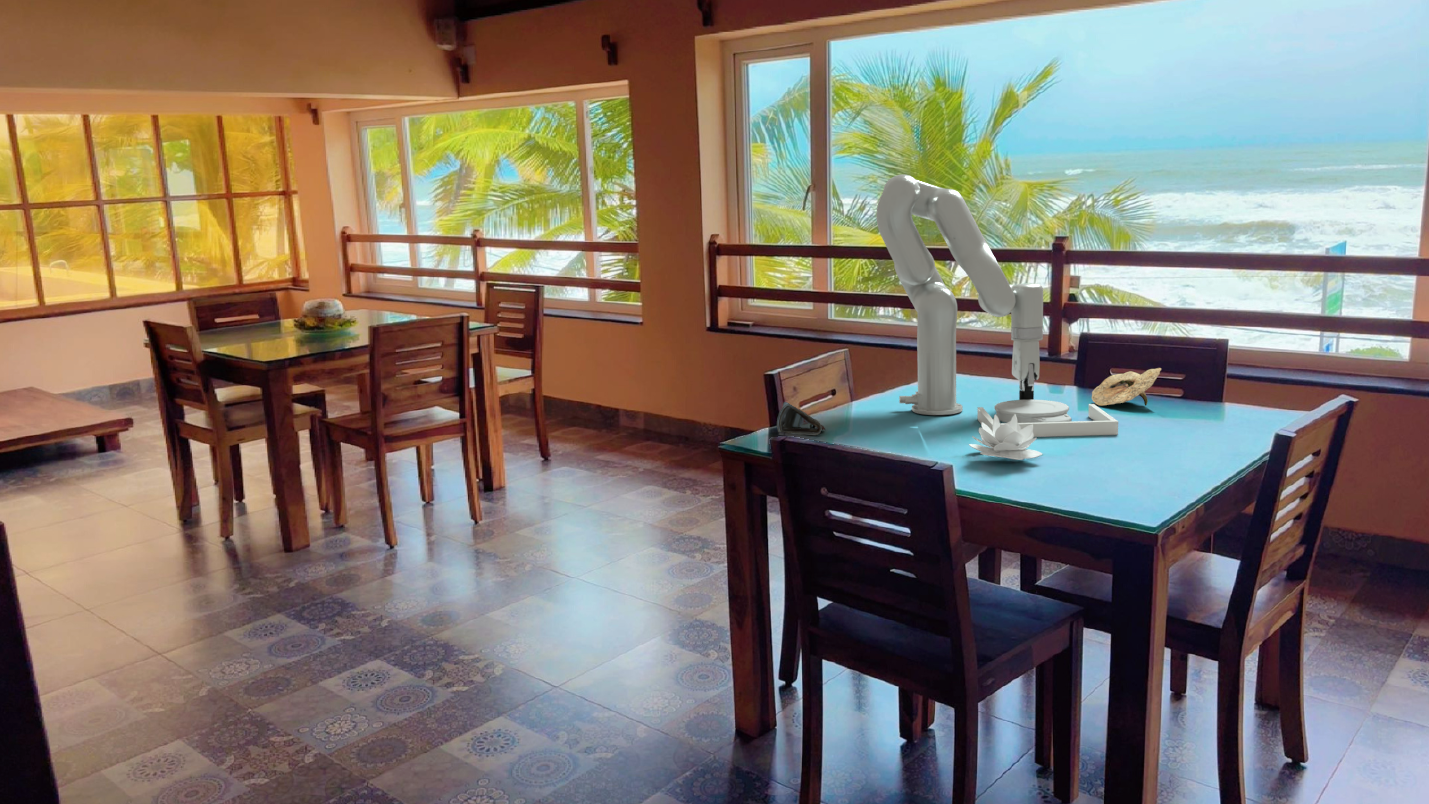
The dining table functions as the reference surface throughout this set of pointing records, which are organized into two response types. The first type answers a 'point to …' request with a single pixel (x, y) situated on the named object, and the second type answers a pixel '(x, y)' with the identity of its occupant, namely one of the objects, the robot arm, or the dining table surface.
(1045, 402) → the lid
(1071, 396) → the dining table surface
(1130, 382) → the beige piece
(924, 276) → the robot arm
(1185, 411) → the dining table surface
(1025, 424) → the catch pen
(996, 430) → the lotus flower
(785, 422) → the dark rounded triangle
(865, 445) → the dining table surface
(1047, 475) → the dining table surface
